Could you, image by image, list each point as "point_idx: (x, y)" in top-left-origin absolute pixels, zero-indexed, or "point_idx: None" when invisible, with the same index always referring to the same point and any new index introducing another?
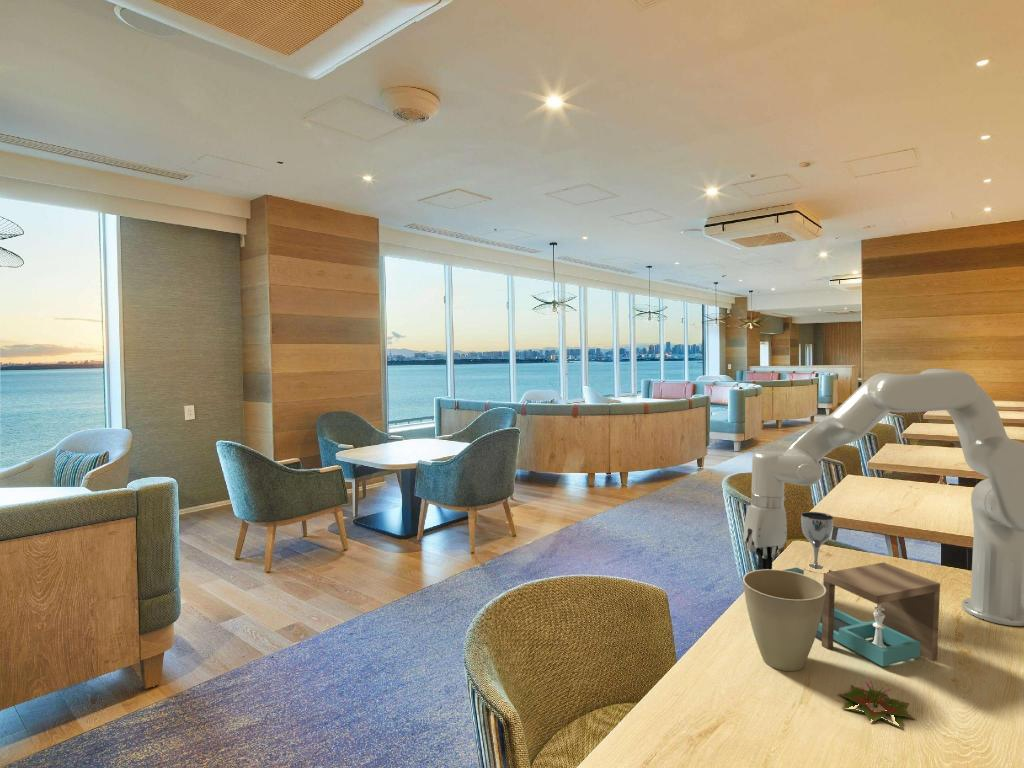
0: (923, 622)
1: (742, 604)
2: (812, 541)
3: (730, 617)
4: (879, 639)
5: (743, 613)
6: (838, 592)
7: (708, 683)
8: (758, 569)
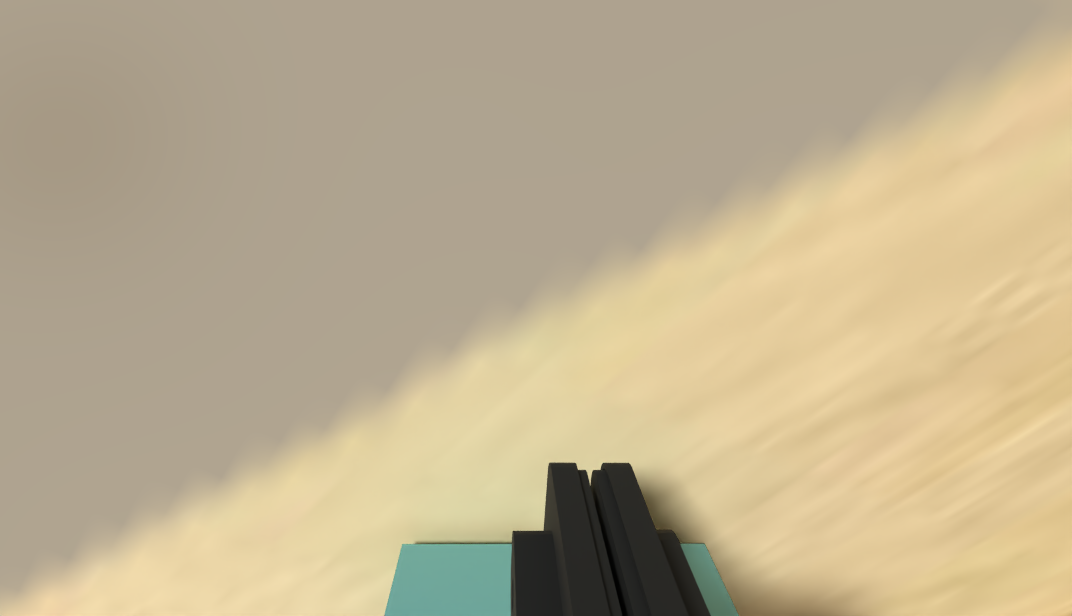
0: None
1: (238, 490)
2: None
3: (31, 600)
4: None
5: (159, 586)
6: (1012, 557)
7: None
8: (548, 478)
